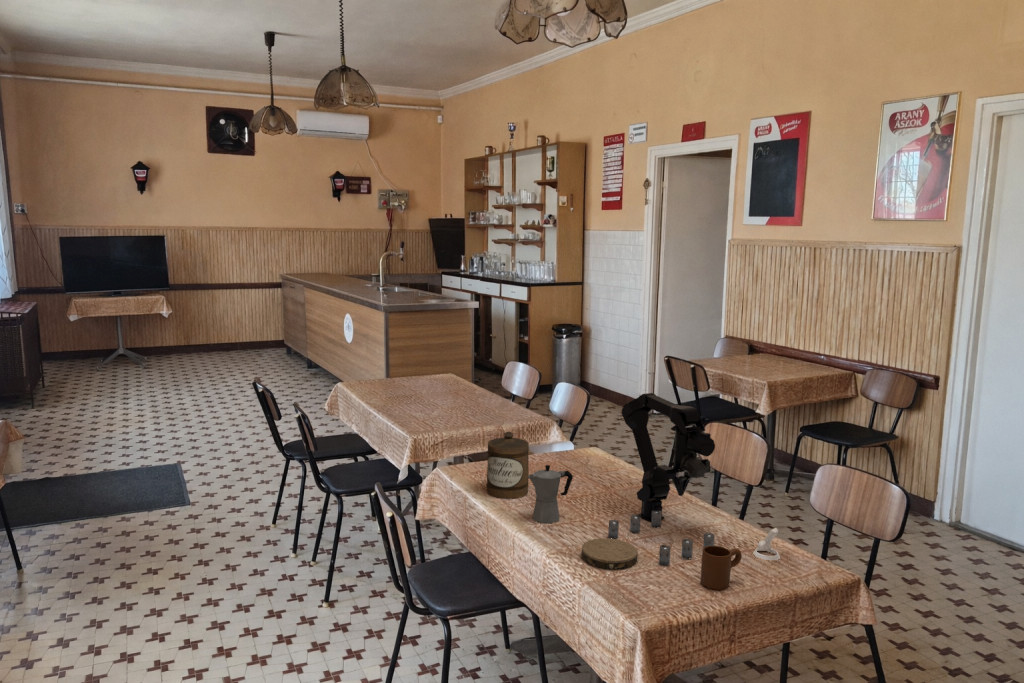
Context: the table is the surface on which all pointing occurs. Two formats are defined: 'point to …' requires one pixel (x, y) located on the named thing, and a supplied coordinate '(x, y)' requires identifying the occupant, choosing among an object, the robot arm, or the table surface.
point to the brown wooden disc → (609, 554)
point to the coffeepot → (548, 493)
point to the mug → (718, 566)
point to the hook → (767, 546)
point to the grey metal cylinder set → (664, 549)
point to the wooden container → (508, 467)
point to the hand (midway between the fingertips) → (680, 495)
